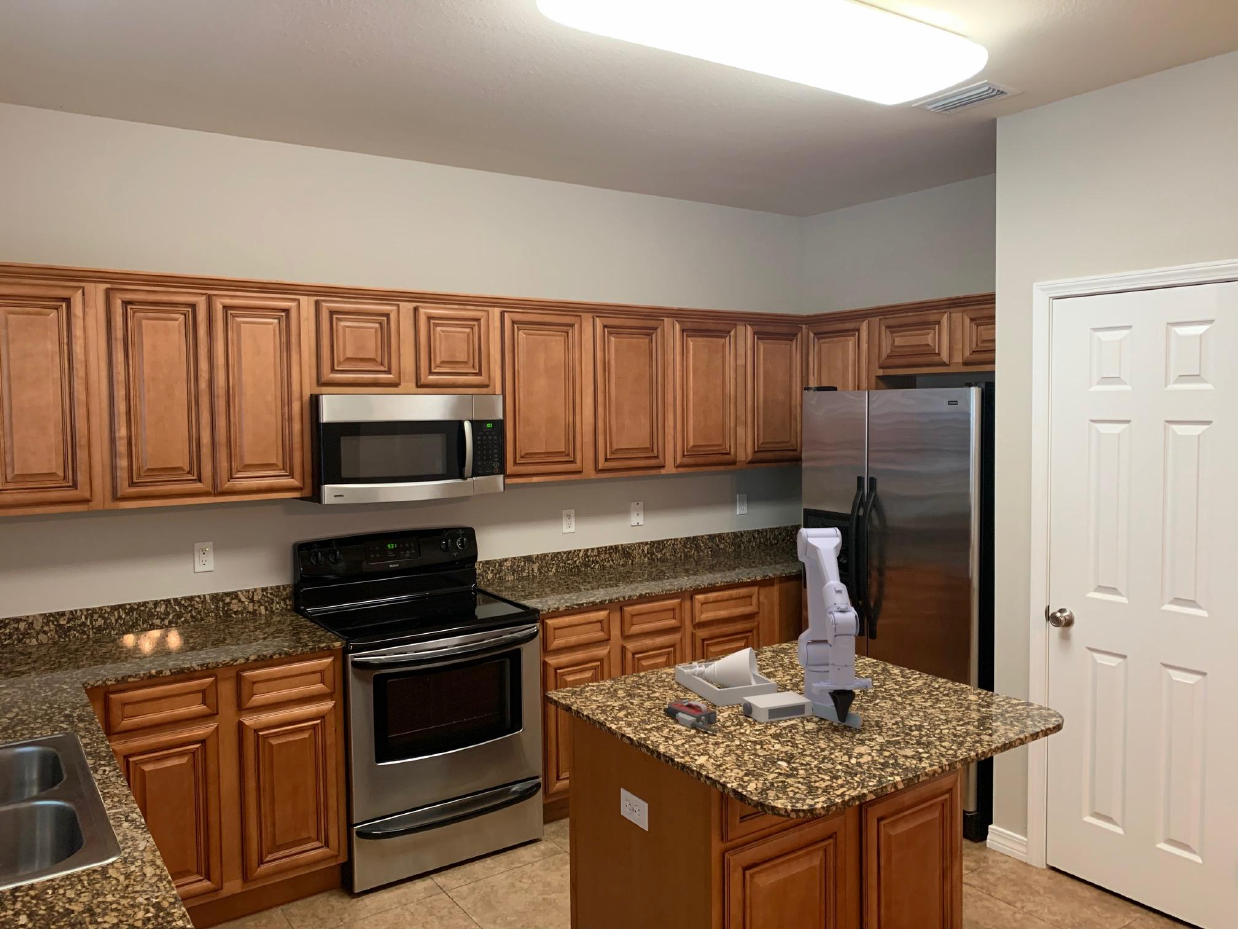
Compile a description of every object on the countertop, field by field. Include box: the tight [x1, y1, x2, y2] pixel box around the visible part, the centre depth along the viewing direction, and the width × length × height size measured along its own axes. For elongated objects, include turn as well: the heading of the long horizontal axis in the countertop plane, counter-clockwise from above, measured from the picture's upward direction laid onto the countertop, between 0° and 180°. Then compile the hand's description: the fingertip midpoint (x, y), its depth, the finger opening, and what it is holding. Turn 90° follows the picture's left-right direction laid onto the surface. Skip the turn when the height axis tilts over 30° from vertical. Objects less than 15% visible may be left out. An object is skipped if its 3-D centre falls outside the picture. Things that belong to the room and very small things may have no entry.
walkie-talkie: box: [662, 699, 718, 734], centre depth 220 cm, size 9×4×20 cm
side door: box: [812, 702, 864, 730], centre depth 219 cm, size 13×2×3 cm, turn 39°
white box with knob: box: [741, 690, 813, 724], centre depth 226 cm, size 15×9×4 cm, turn 112°
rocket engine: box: [684, 647, 759, 688], centre depth 245 cm, size 12×12×18 cm
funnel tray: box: [674, 661, 778, 707], centre depth 247 cm, size 17×25×4 cm
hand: (841, 721), depth 215 cm, fingers closed
